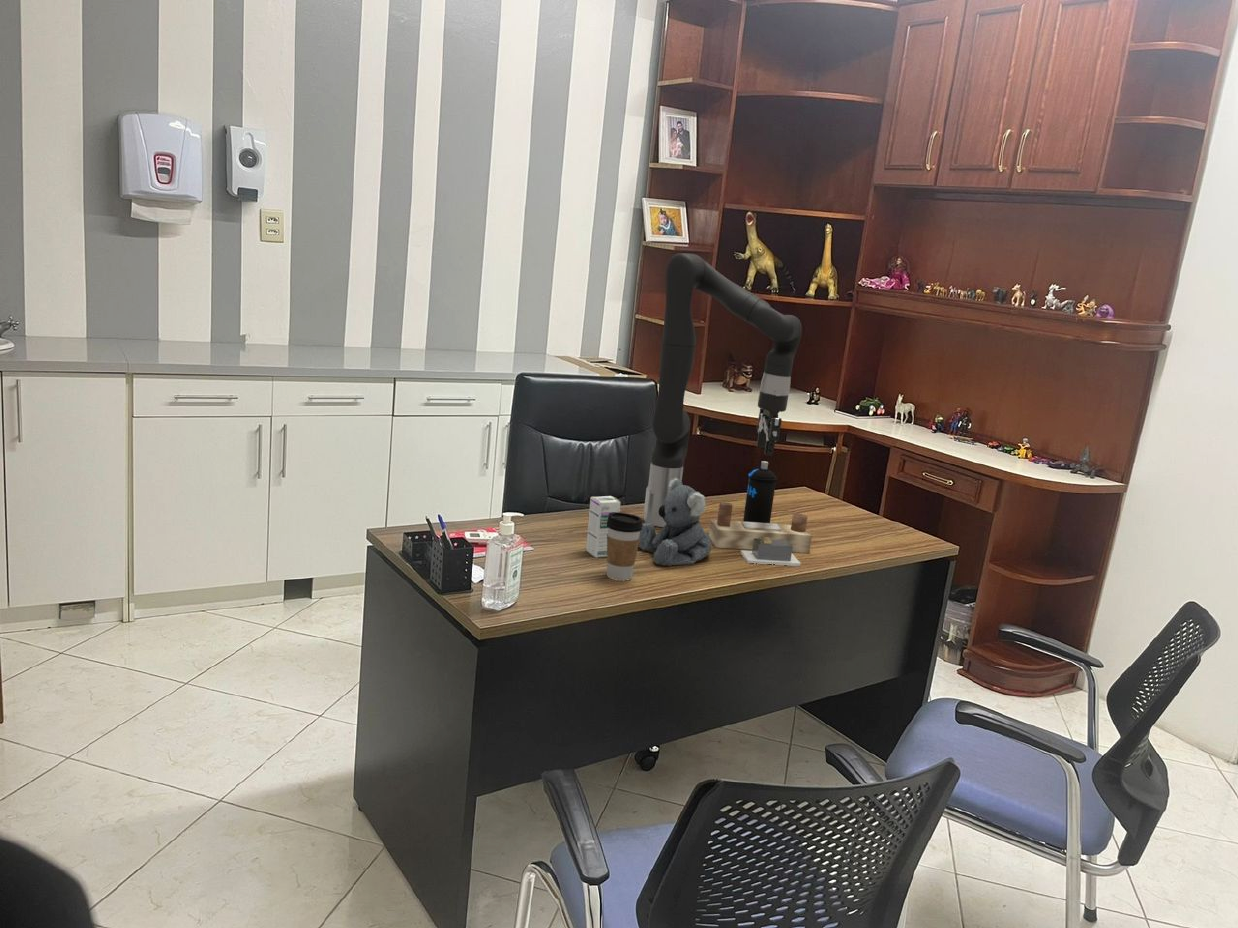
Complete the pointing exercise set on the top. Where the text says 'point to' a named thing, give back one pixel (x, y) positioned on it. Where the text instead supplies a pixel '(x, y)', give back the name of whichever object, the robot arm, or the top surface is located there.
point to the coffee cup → (622, 544)
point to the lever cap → (772, 549)
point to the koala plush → (678, 528)
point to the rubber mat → (752, 559)
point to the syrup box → (600, 524)
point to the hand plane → (757, 531)
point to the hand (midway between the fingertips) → (764, 451)
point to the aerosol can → (760, 495)
